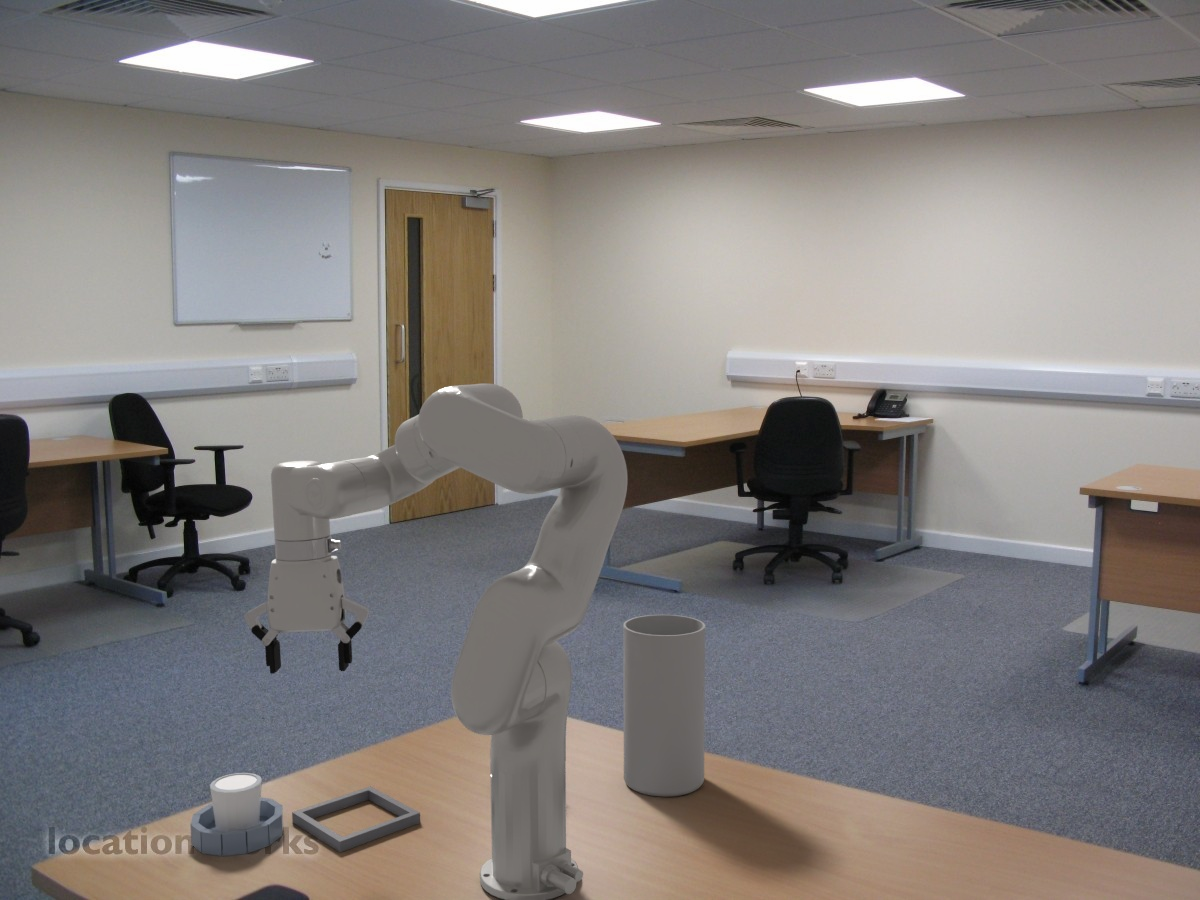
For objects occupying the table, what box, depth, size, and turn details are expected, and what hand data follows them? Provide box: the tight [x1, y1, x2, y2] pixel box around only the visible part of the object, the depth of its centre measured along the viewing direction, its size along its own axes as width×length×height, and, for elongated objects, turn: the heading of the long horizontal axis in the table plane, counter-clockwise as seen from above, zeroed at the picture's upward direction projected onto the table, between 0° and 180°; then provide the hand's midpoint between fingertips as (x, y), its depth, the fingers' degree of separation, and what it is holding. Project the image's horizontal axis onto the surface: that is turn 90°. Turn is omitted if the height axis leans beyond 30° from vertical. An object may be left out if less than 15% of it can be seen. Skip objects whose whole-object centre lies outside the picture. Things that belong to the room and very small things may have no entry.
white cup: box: [209, 772, 263, 831], centre depth 154 cm, size 7×7×7 cm
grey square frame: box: [291, 785, 421, 853], centre depth 158 cm, size 13×13×2 cm
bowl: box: [190, 796, 284, 857], centre depth 154 cm, size 12×12×3 cm
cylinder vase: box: [622, 614, 706, 798], centre depth 171 cm, size 12×12×25 cm
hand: (309, 669), depth 156 cm, fingers open, 9 cm apart
